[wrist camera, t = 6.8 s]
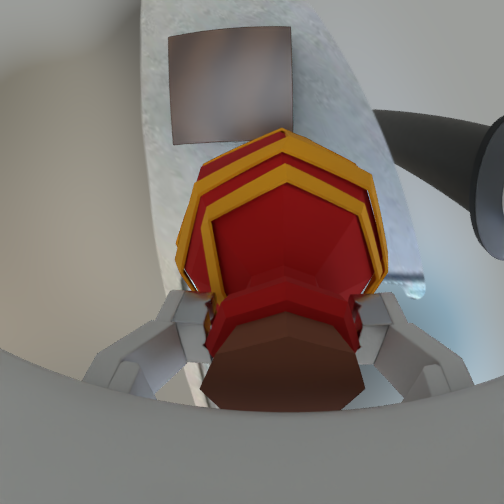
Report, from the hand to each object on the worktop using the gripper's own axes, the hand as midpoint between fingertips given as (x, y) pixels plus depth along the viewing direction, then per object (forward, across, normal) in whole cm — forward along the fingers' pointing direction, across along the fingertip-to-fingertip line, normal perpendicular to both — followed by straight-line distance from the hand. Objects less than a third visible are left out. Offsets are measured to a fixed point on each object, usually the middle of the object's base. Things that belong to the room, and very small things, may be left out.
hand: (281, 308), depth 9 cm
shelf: (+27, +4, -9) cm, 29 cm away
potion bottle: (+12, 0, 0) cm, 12 cm away
